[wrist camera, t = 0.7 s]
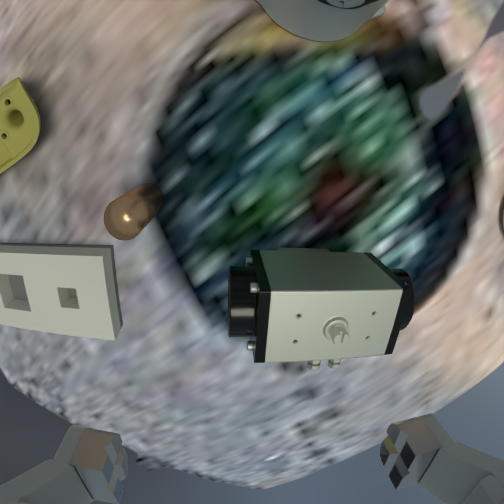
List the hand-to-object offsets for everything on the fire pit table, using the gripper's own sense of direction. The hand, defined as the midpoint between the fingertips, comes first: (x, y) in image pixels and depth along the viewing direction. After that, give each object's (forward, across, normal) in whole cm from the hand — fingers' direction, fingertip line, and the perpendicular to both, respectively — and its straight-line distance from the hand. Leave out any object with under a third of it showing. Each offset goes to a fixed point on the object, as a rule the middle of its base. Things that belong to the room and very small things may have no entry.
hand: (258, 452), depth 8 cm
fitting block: (+33, +27, +8) cm, 43 cm away
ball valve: (+33, -8, +4) cm, 35 cm away
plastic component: (+32, +33, -14) cm, 48 cm away
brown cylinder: (+32, +11, -4) cm, 34 cm away
